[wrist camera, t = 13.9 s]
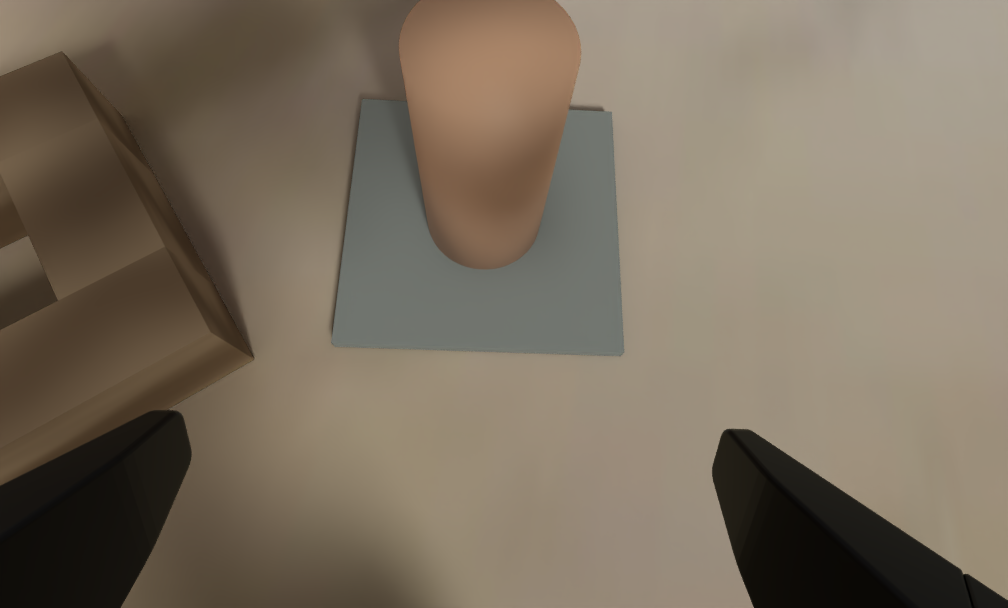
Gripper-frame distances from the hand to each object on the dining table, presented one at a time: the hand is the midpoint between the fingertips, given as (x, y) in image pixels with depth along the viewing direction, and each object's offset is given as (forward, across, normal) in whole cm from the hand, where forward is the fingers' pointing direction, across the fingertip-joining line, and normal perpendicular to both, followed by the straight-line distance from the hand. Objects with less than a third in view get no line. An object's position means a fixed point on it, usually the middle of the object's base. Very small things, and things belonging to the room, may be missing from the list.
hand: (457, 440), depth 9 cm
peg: (+16, 0, +1) cm, 17 cm away
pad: (+17, 0, +2) cm, 17 cm away
